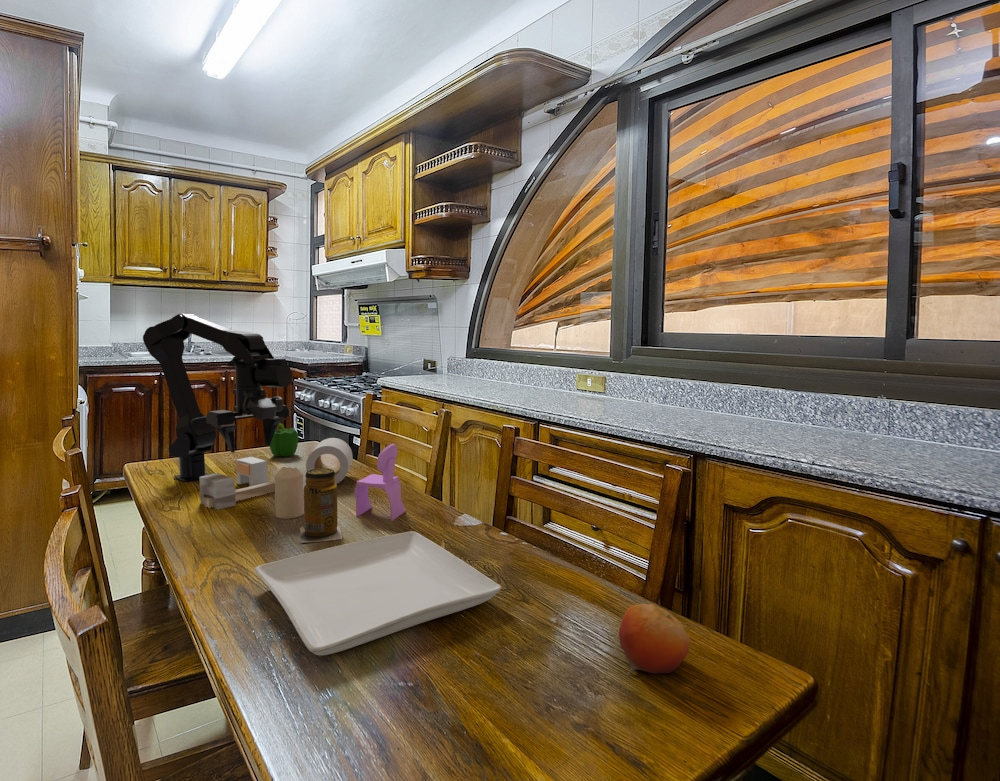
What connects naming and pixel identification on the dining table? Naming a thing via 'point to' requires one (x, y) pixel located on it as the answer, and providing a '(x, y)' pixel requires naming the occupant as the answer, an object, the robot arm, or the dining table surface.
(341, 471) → the toilet paper
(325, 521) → the condiment
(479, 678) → the dining table surface
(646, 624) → the fruit
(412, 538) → the square plate
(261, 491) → the grey block with bar
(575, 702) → the dining table surface
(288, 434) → the bell pepper
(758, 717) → the dining table surface
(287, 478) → the candle
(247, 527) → the dining table surface
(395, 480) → the toy chair
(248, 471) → the white block orange stripe
